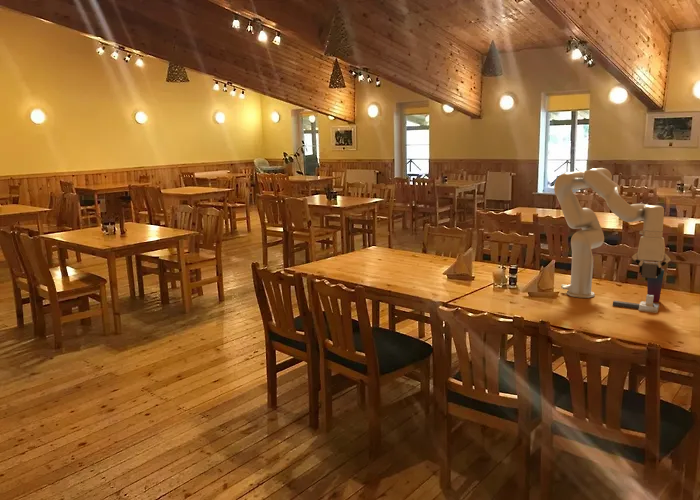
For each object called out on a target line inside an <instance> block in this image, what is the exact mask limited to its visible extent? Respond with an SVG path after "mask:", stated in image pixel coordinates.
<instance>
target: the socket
mask: <svg viewBox="0 0 700 500" xmlns="http://www.w3.org/2000/svg"><path fill="white" fill-rule="evenodd" d="M657 267H658V264H657V261H646V260H644V262H643V264H642V275H641V278H646V279H648V278H657Z"/></svg>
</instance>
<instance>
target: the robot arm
mask: <svg viewBox="0 0 700 500" xmlns="http://www.w3.org/2000/svg"><path fill="white" fill-rule="evenodd" d="M580 189H581V190H582V189H583V190H584V189H591V190H592V191H593V192H595V193H596V194H597V195H598V196H599V197H601V199H604V201H605V203H606V205H607V207H608V209H609V210H610V211H611V212H612V213H613V214H614V215H615V216H617V217H618V218H619V219H620V220H622V221H623V222H625V223H626V222H627V223H634V222H640V221H643V228H642V230H639V232H638V233H639V235H642V236H640V239H639V242H638V249H637V252H636V253H634V254H633V255H632V256H631V258H632V260H634V262H636V264H637V265H638V266H639V271H638V272H639V273H640V276H642V264H643V262H644V261H646V262H657V264H658V267H657V277H658V276H659V275H661V268H662V267H664V266H665V265H667V264H668V263H669V262H671V261H672V260H671V258H670V256H669V255H668V254H667V253H666V246H665V238H664V237H663V233H664V230H663V229H664V217H665V208H664V207H663V205H658V204H655V205H652V204H645V203H633V204H630V203H628V202H627V201H626V200H625V199H624V198H623V197H621V195H620V191H621V186H620V185H619V184H618V183H616V182H615V181H613V175H612V172H611V171H610V170H609V169H608V168H605V167H604V168H603V167H597V168H595V167H594V168H590V169H588V170H581V171H579V170H578V171H568V172H564V173H561V174H560V175H559V176H558V177H557V179H556V180H555V183H554V189H553V190H554V194H555V197H556V198H557V200H558V203H559V206H560V208H561V211H562V214H563V217H564V220H565V221H566V223H567V226H568V227H569V228H570V229H572V230H576V229H577V231H576V232H575V233H573V234H572V236H571V239H570V247H571V270H570V284H568V285H567V284H561V285H560V287H561V289H562V290H567V291H566V295H568V296H569V297H572V298H578V299H579V298H580V299H590V298H593V297H595V295H596V294H595V292H594V291H592V286H593V285H592V283H593V272H594V271H593V270H594V256H593V251H592V250H593V249H596V248H600V247H602V245H603V244H604V242H605V236H604V235H605V234H604V232H603V229H602V226H601V224H600V221H599V219H598V216H597V214H596V213H595V211H594V210H593V209H591V208H589V207H582V206H581V204H580V201H579V198H578V197H577V196H576V194H575V193H574V191H573V190H580ZM578 229H581V230H579V231H578ZM664 259H665V260H664Z"/></svg>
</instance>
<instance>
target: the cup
mask: <svg viewBox="0 0 700 500" xmlns="http://www.w3.org/2000/svg"><path fill="white" fill-rule="evenodd" d="M664 272H665V269H664V268H662V267H661V275H659V276H658V277H657V278H647V284H646V285H647V291H646V292H647V294H648V295H654V298H653V303H659V302H660V299H661V294H662V288H663V287H662V286H663V280H664V274H665V273H664ZM647 294H646V295H647Z"/></svg>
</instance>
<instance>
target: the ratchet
mask: <svg viewBox="0 0 700 500" xmlns="http://www.w3.org/2000/svg"><path fill="white" fill-rule="evenodd" d="M653 298H654V295H648V294H646V295H645V301H642V300H641V301H640V302H639V303H638V302H637V303H635V302H628V301H620V300H613V301H612V306H613V307H621V308H629V309H633V310H634V309H635V310H638V311H639V312H646V313H655V314H658V311H659V309H660V303H659V302H653Z"/></svg>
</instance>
